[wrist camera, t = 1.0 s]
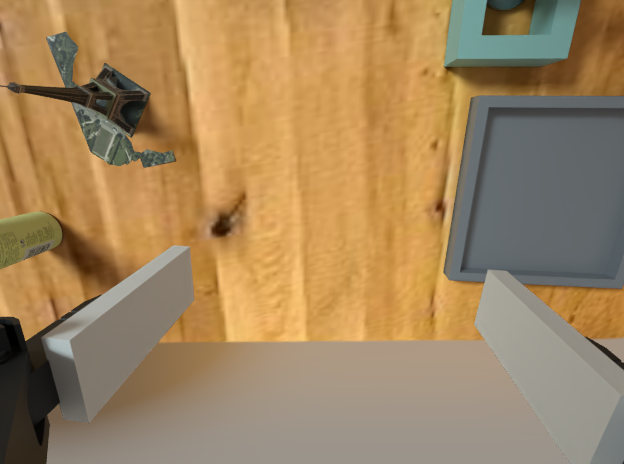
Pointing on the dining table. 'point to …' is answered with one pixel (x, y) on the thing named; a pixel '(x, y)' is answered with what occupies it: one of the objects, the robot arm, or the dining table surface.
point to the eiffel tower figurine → (100, 107)
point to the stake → (503, 4)
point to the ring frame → (510, 36)
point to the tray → (541, 191)
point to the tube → (27, 236)
